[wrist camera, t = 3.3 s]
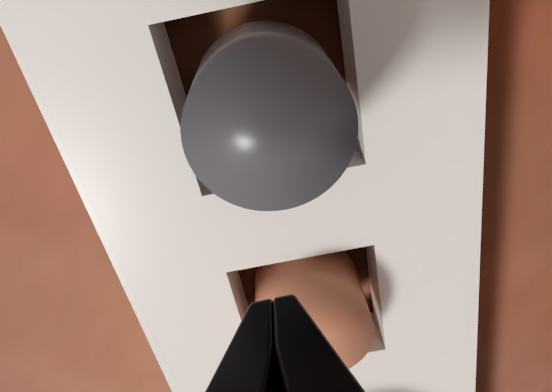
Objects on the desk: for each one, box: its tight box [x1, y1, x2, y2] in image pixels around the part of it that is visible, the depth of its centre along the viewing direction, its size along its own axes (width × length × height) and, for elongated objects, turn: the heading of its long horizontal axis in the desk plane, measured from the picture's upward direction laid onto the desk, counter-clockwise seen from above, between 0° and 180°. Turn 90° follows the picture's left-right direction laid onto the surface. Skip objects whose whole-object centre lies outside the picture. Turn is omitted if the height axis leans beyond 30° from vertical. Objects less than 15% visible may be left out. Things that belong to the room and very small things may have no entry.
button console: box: [0, 0, 490, 392], centre depth 17 cm, size 12×24×2 cm, turn 11°
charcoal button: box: [180, 20, 358, 211], centre depth 12 cm, size 4×4×3 cm
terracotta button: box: [255, 251, 375, 369], centre depth 17 cm, size 4×4×3 cm
